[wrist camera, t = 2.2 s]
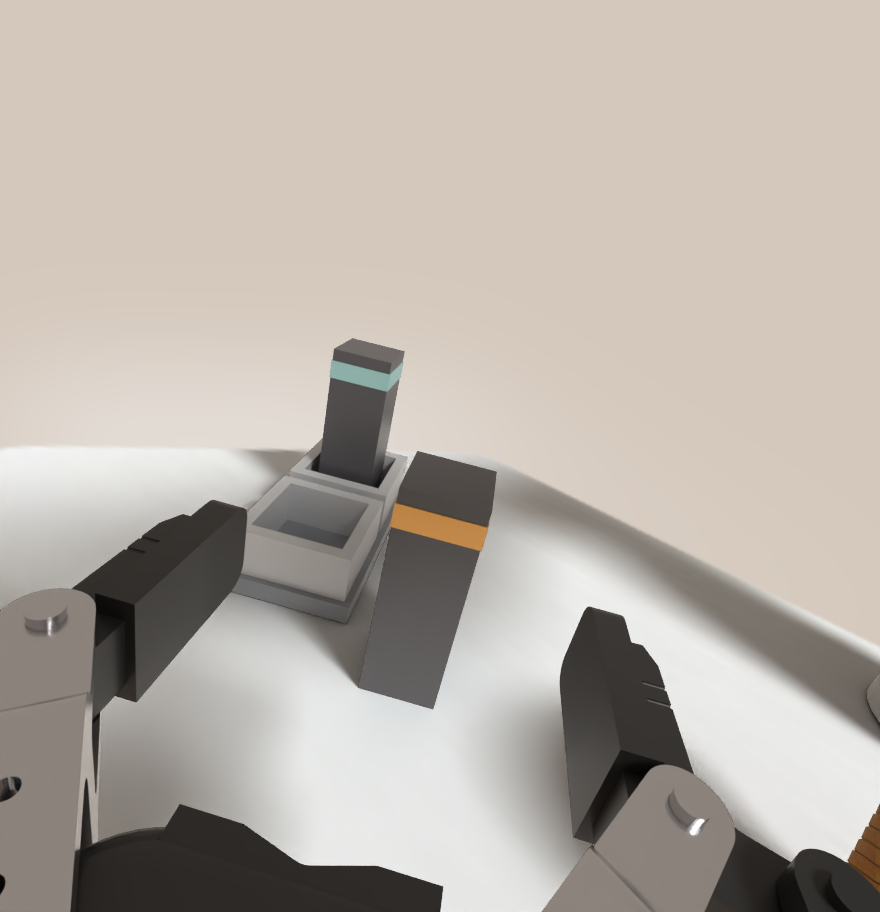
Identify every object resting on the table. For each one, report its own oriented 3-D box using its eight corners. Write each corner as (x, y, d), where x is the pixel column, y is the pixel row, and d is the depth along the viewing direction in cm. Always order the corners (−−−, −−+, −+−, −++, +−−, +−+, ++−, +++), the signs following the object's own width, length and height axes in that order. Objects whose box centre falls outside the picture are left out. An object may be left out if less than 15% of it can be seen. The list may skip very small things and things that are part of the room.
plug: (445, 651, 30) (497, 471, 25) (433, 710, 26) (492, 512, 21) (377, 632, 30) (416, 450, 25) (356, 688, 26) (398, 486, 21)
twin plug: (379, 491, 43) (405, 351, 38) (365, 515, 39) (392, 363, 34) (332, 479, 43) (352, 338, 38) (313, 501, 39) (333, 348, 34)
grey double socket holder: (404, 499, 45) (413, 456, 43) (345, 623, 30) (356, 566, 28) (317, 475, 45) (322, 432, 43) (218, 587, 31) (220, 529, 29)
